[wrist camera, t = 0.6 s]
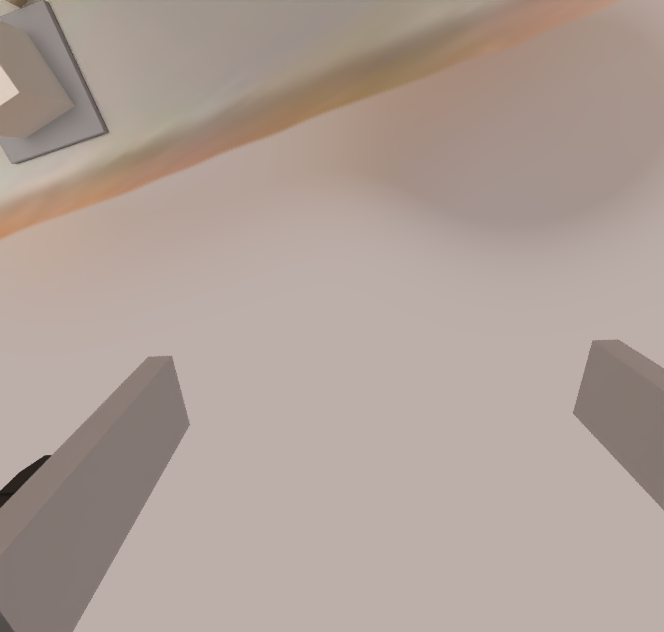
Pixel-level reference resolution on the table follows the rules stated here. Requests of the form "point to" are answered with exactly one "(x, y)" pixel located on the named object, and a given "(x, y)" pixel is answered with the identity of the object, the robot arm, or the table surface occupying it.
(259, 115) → the table surface
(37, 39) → the mat
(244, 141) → the table surface
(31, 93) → the plain block
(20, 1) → the beech cube
